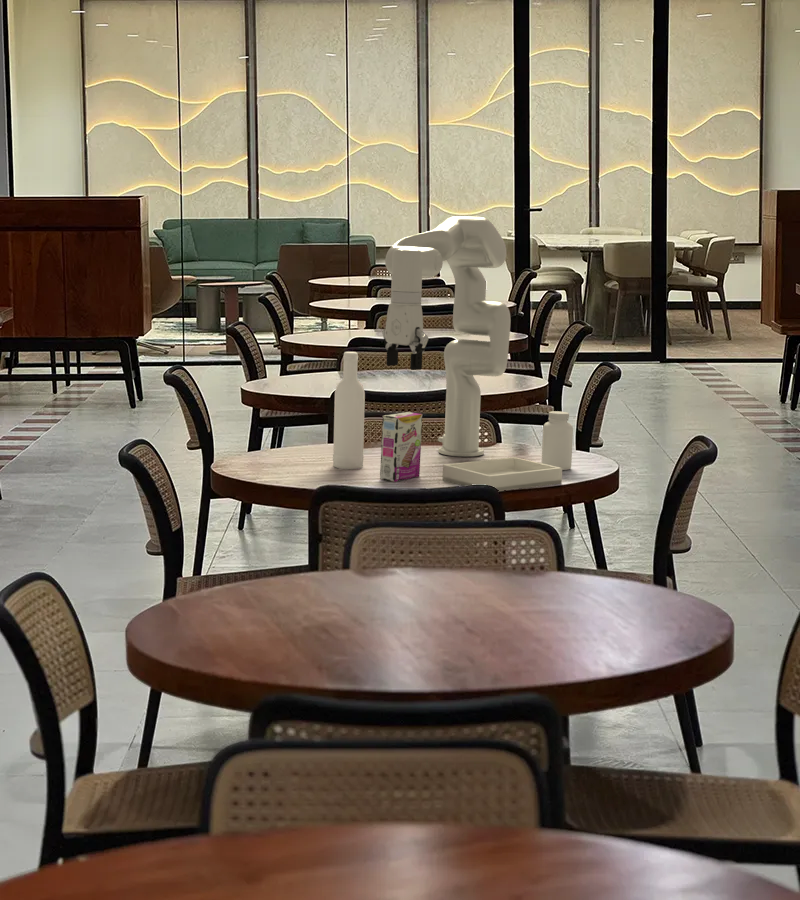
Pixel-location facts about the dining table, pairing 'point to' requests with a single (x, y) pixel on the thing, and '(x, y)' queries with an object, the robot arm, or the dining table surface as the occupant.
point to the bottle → (349, 417)
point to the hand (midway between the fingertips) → (403, 367)
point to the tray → (503, 473)
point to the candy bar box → (401, 446)
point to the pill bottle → (557, 440)
